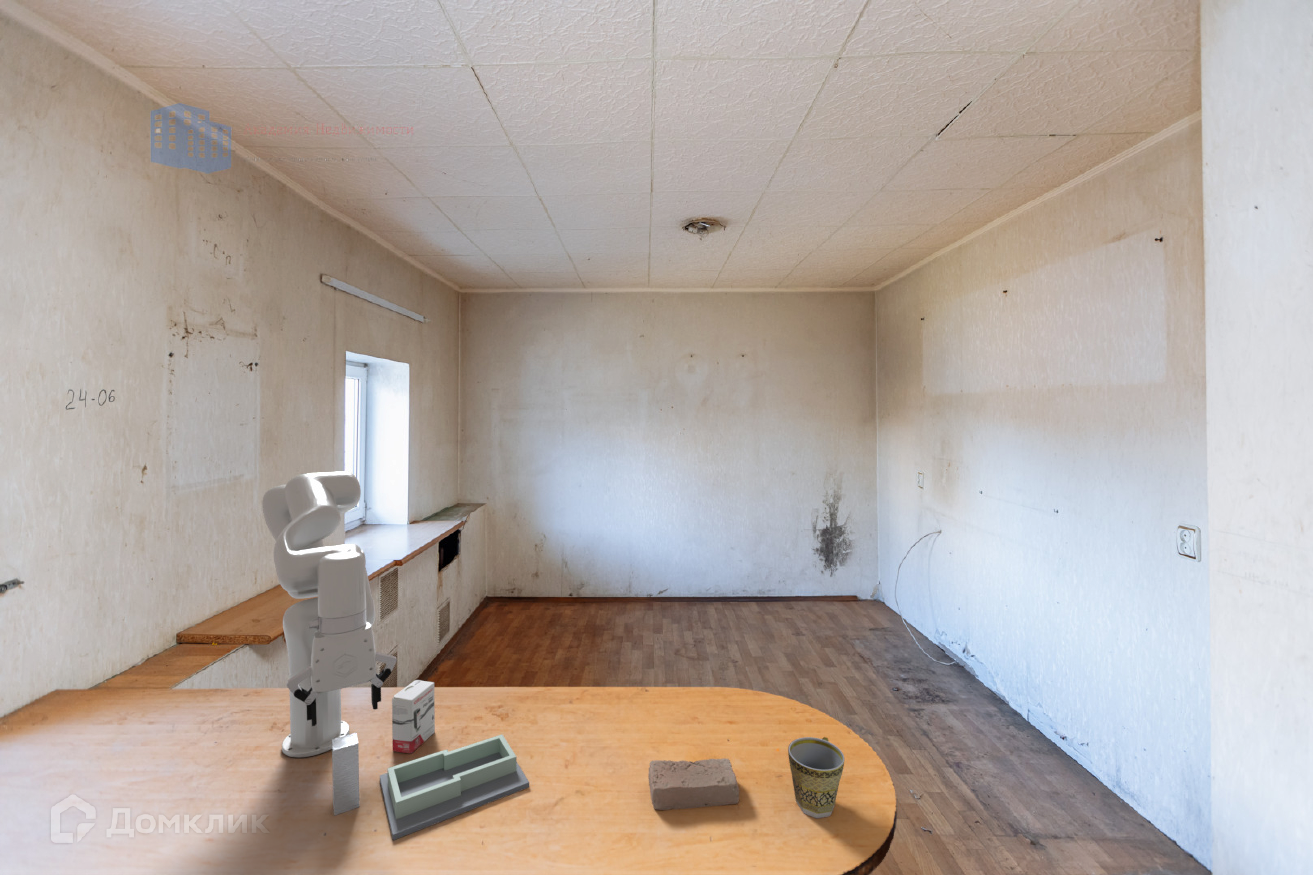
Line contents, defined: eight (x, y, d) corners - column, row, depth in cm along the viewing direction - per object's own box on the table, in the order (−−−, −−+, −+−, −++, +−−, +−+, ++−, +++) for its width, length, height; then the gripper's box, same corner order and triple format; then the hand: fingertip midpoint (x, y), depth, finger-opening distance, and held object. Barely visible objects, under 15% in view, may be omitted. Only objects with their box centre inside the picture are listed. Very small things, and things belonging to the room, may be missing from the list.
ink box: (411, 754, 114) (410, 700, 114) (391, 751, 115) (390, 697, 115) (436, 731, 123) (435, 680, 122) (417, 728, 124) (416, 678, 123)
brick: (729, 776, 109) (729, 753, 108) (740, 806, 100) (740, 781, 100) (647, 782, 107) (647, 759, 106) (652, 813, 98) (652, 788, 98)
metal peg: (332, 802, 100) (331, 739, 100) (357, 793, 102) (356, 732, 102) (334, 815, 97) (332, 750, 96) (359, 806, 99) (358, 743, 99)
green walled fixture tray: (379, 780, 106) (379, 760, 106) (500, 740, 120) (500, 722, 119) (392, 840, 91) (392, 817, 91) (529, 786, 105) (529, 766, 104)
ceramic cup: (835, 833, 93) (836, 777, 93) (779, 811, 99) (780, 757, 98) (852, 790, 104) (853, 739, 104) (801, 771, 110) (802, 723, 109)
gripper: (284, 639, 90) (287, 739, 91) (398, 617, 100) (400, 709, 100) (285, 625, 97) (288, 719, 97) (392, 606, 106) (394, 692, 107)
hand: (345, 714), depth 99 cm, fingers open, 9 cm apart
